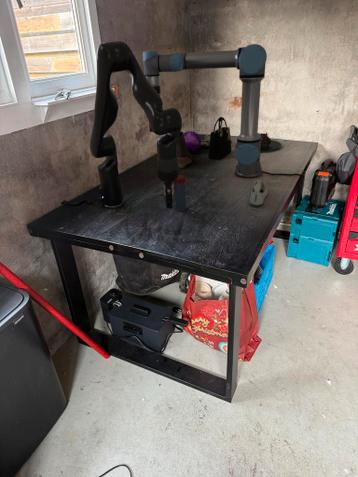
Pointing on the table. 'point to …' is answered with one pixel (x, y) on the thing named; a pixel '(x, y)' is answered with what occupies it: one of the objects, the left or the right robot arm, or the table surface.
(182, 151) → the boot
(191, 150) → the decorative orb
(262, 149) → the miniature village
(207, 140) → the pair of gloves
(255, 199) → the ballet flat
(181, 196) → the jar
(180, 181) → the lid
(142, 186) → the table surface
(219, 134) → the handbag
